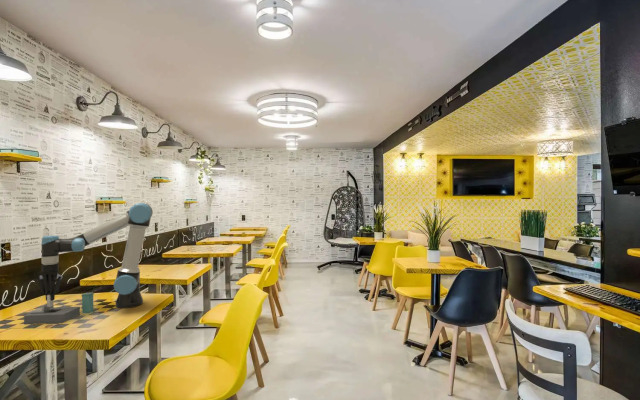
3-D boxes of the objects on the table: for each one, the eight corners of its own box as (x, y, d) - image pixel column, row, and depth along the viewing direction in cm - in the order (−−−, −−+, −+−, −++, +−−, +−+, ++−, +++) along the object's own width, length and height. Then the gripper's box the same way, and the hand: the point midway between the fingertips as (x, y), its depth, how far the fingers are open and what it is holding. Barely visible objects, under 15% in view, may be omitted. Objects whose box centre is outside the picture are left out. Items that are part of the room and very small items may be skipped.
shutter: (53, 308, 194) (53, 301, 194) (43, 312, 187) (43, 305, 187) (40, 308, 194) (40, 302, 194) (29, 313, 186) (29, 306, 186)
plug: (93, 311, 204) (93, 292, 204) (89, 313, 200) (89, 294, 200) (86, 311, 204) (86, 292, 204) (81, 313, 200) (81, 294, 200)
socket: (79, 314, 198) (79, 306, 198) (63, 322, 184) (63, 314, 184) (43, 315, 197) (43, 307, 197) (24, 324, 183) (24, 315, 183)
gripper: (67, 262, 195) (66, 304, 194) (43, 262, 194) (43, 304, 194) (57, 264, 187) (57, 308, 187) (32, 265, 186) (32, 308, 186)
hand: (50, 306), depth 190 cm, fingers closed
